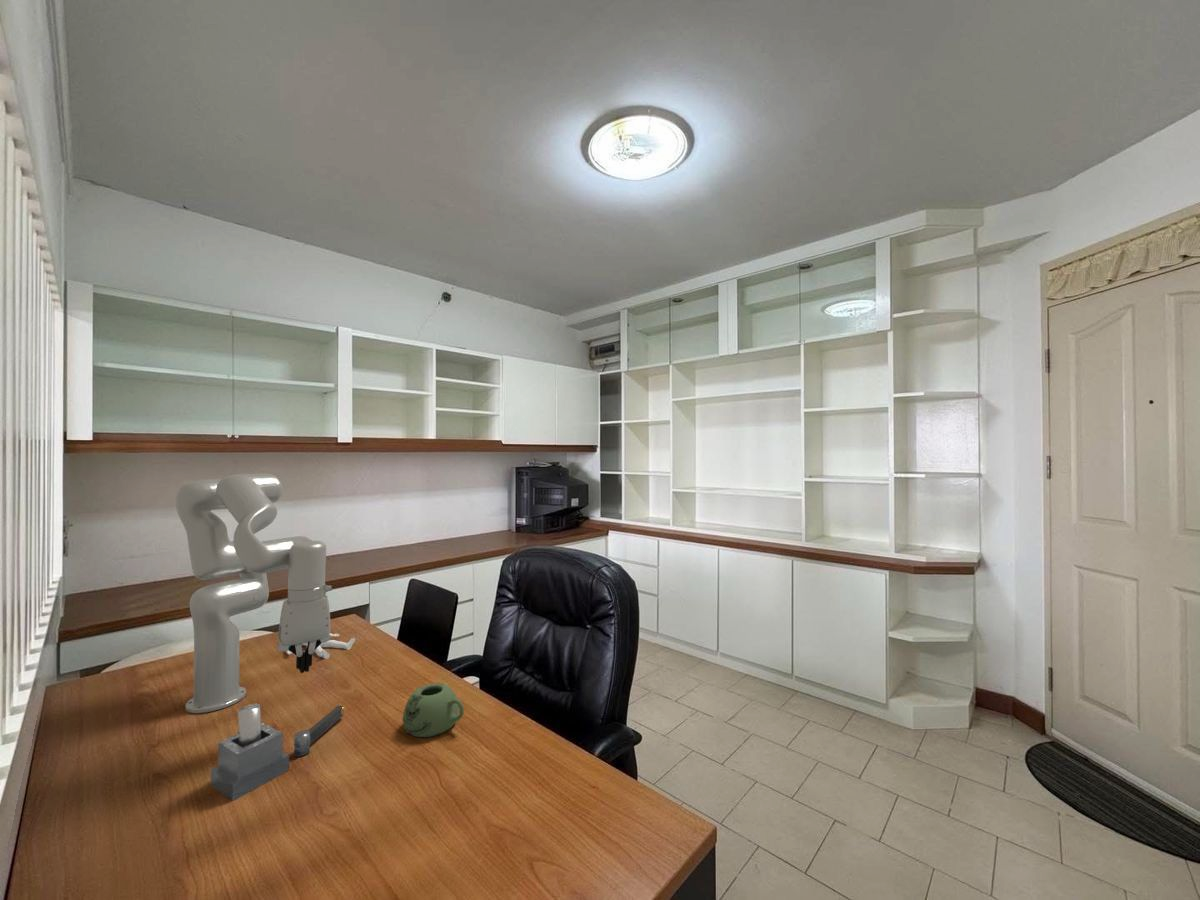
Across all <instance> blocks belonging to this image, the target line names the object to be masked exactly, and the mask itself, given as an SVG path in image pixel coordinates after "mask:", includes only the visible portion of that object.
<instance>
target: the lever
mask: <svg viewBox="0 0 1200 900" xmlns="http://www.w3.org/2000/svg"><path fill="white" fill-rule="evenodd" d="M346 712H347V707H346V705H343V704H339V705H337V706H336V707H334V708H333V709H331V711H329V712H328V713H327V714H326V715H325V716H324V717H322V718H321V719H320V720H319V721H317V722H316V723H314V725H313V726H312V727H310V728H309V729H305V730H301V731H297V732H296V733H295V734H294V735H293V756H294V757H297V758H298V757H304V756H305V755H307V754H309V753H310V752H311V744H312V743H314V742H315V741H316V740H317V739H318V738H319V737H320V736H322V735H323V734H324V733H325V732H327V731H328V729H330V728H331V727H332V726H333V725H334V724H335V723H336V722H338V721H339V720H340V719H341V718H342V717H343V716H344V715H345V714H346Z"/></svg>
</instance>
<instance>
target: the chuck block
mask: <svg viewBox="0 0 1200 900" xmlns="http://www.w3.org/2000/svg"><path fill="white" fill-rule="evenodd" d="M283 734H284V733H283V732H281V731H279V730H278V729H276V728H273V727H272V726H270V725H269V724H267V723H264V722H262V723H261V740H259V741H257V742H255V743H253V744H250V745H248V746H246V747H244V748H242V747H241V746H239V733H237V734H234V735H232V736H230V737H228V738H226V739H224V740H221V741H219V742H218V744H217V745H218V746H217V747H218V748H217V753H218V754H217V766H216V767H214V768H212V769H210V786H211V787H213V788H214V789H215V790H217V791H218V792H220V793H221V794H223V796H225V797H227V798H228V799H229V800H231V801H235V800H237V799H239V798H240V797H242V796H245V795H246V794H248V793H250V792H251V791H253V790H255V789H257V788H260V787H261V786H263V785H264V784H266V783H268V782H270V781H272V780H273V779H275V778H277V777H279V776H281V775H283V774H284V773H287V772H288V771H290V755H289V754H287V753H286V752H285V753H284V751H283V750H284V749H283V748H284V746H283V745H284V744H283V743H284V741H283V739H284V738H283V737H284V735H283Z"/></svg>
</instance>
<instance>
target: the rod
mask: <svg viewBox="0 0 1200 900" xmlns="http://www.w3.org/2000/svg"><path fill="white" fill-rule="evenodd" d="M237 713H238V716H237V717H238V719H237V721H238V734H239V746H241V747H242V748H244V747H246V746H248V745H250V744H253V743H255V742H257V741H259V740H261V722H262V720H261V719H262V717H261V704H260V703H250V704H248V705H245V706H243V707H240V709H238V712H237Z"/></svg>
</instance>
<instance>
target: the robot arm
mask: <svg viewBox="0 0 1200 900" xmlns="http://www.w3.org/2000/svg"><path fill="white" fill-rule="evenodd" d="M283 491H284V488H283V485H282V482H281V480H280V479H279V478H278V477H277V476H276V475H275V474H271V473H264V472H263V473H237V474H232V475H231V474H230V475H228V476H225V477H223V478H213V479H212V478H211V479H210V478H209V479H208V478H207V479H199V480H198V479H197V480H192V481H188V482H186V483H183V484H182V485H181V486H180V487H179V488H178V490H177V493H176V495H175V509H176V512H177V515H178V517H179V519H180V521H181V523H182V525H183V527H184V530H185V532H186V536H187V538H186V539H187V545H188V552H189V558H190V559H189V560H190V564H191V571H192V573H193V576H195V578H196V579H198V580H201V581H203V580H204V581H206V580H213V579H214V580H215V579H219V578H224V577H230V576H235V575H239V578H236V579H231V580H226V581H221V582H218V583H212V584H209V585H208V584H207V585H205V586H203V587H201V588H198V589H197V590H196V591H195V592H193V593H192V595H191V597H190V599H189V612H190V615H191V620H192V627H193V697H191V698H190V699H189V700H188V701H187V702H186V703H185V711H186V712H187V713H191V714H204V713H209V712H214V711H219V710H222V709H225V708H227V707H230V706H232V705H234V704H236V703H239V702H240V701H241V700H243V698H244V697H245V696H246V694H247V689H246V688H245V687H243V686H240V630H239V628H238V626H237V624H235V623H233V622H232V621H231V619H230V618H231V617H233V616H235V615H239V614H243V613H247V612H250V611H255V610H258V609H260V608H262V607H263V606H265V604H266V603H267V602H268V600H269V596H270V589H269V581H268V576H267V574H268V573H273V572H277V571H283V570H288V577H287V578H288V579H287V580H288V581H287V583H288V584H287V599H285V600H284V601H283V603H282V606H281V611H280V617H279V626H278V641H279V642H278V645H277V650H278V652H287V651H290V652H292V654H294V655H295V656H296V660H295V661H296V662H295V663H296V664H295V668H296V670H299V672H300V673H301V674H304V672H306V673H307V672H310V667H312V665H313V654H314V653H315V652H314V651H315V650H316V648H317V647H318V646H319V645H320V644H323V643H325V642H327V641H329V640H332V639H331V637H330V633H331V611H330V603H329V598H328V595H327V593H328V592H331V591H332V590H333V588H332V585H328V584H326V571H327V570H326V567H327V566H326V565H327V545H326V543H325V542H323V541H321V540H312V539H311V538H309V537H307V536H302V535H298V536H291V537H284V538H283V537H282V538H276V539H269V540H262V541H261V540H259V538H258V537H257V536H256V535H255V534H257V533H259V532H260V531H262V530H264V529H266V528H267V527H268V526H269V525H271V524H272V523H273V522H274V520H276V518H277V515H278V509H277V506H276V505H275V504H274V503H276V502H278V501H279V500H280V499H281V498H282V495H283V493H284V492H283ZM215 510H216V511H217V510H227V511H228V512H229V513H230V514H231V515H232V517H233V518H234V519H235V521H236V522H237V523H238V524H237V526H236V527H235V530H234V533H233V540H232V541H231V540H230V539H229V535H228V534H229V533H228V529H227V525H226V523H225V522H224V521H223V520H222V519H221V518H220V517H219V516H218V515H216V514H215V513H214V512H212V511H215ZM307 642H308V643H307ZM302 643H307V646H306V648H305V650H304V651H303V648H302V646H303V645H301V644H302Z"/></svg>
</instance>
